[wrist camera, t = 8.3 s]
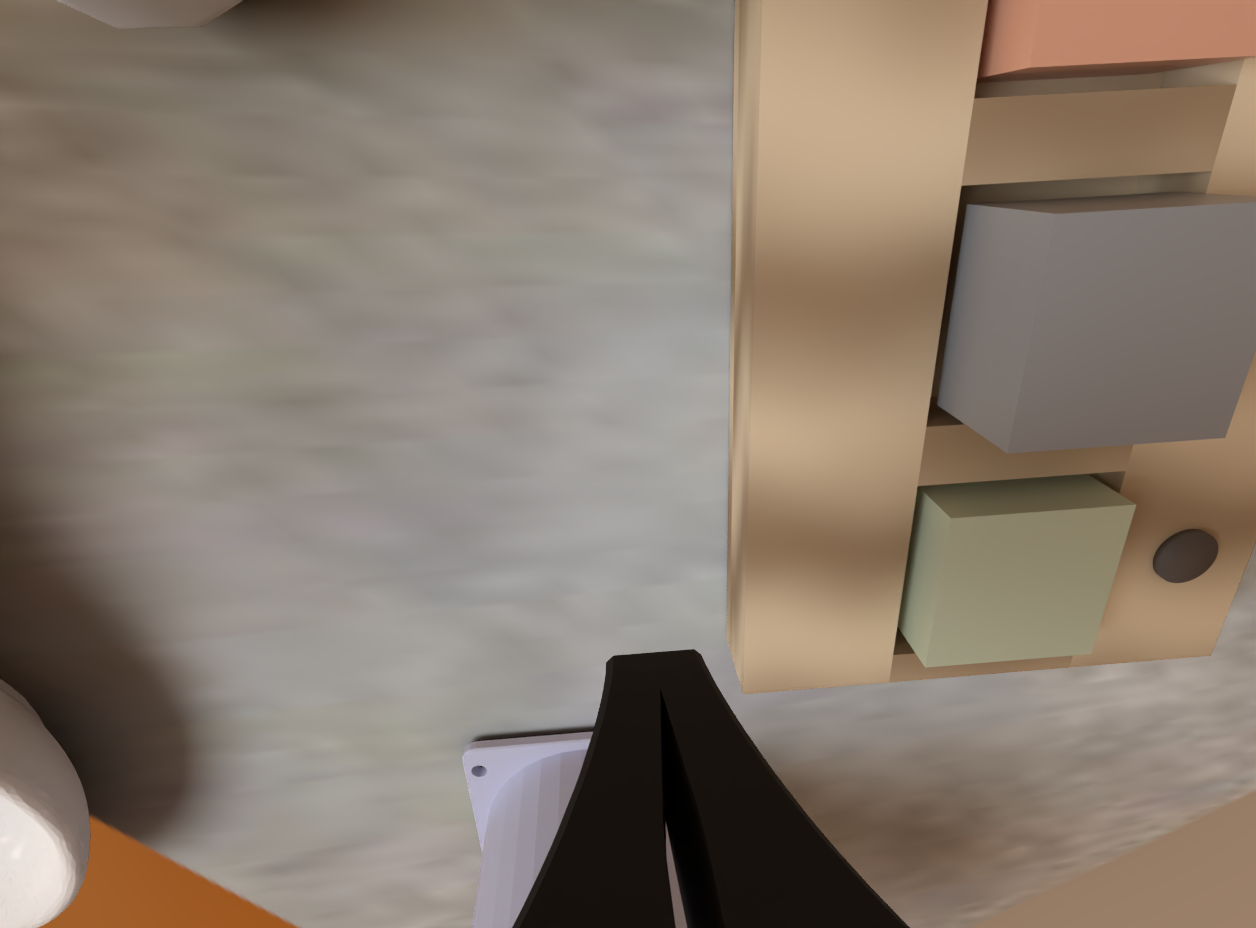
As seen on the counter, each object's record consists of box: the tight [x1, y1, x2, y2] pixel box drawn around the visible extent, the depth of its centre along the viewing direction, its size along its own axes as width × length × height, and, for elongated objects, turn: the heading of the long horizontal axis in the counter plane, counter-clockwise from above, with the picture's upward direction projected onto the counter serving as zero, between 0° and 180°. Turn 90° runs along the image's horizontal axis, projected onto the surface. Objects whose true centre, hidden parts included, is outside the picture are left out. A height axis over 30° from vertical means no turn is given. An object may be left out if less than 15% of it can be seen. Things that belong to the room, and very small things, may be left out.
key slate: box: [937, 192, 1256, 454], centre depth 14 cm, size 5×5×3 cm
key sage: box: [897, 474, 1136, 668], centre depth 18 cm, size 5×5×3 cm
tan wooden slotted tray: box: [726, 0, 1256, 694], centre depth 16 cm, size 21×14×3 cm, turn 3°
